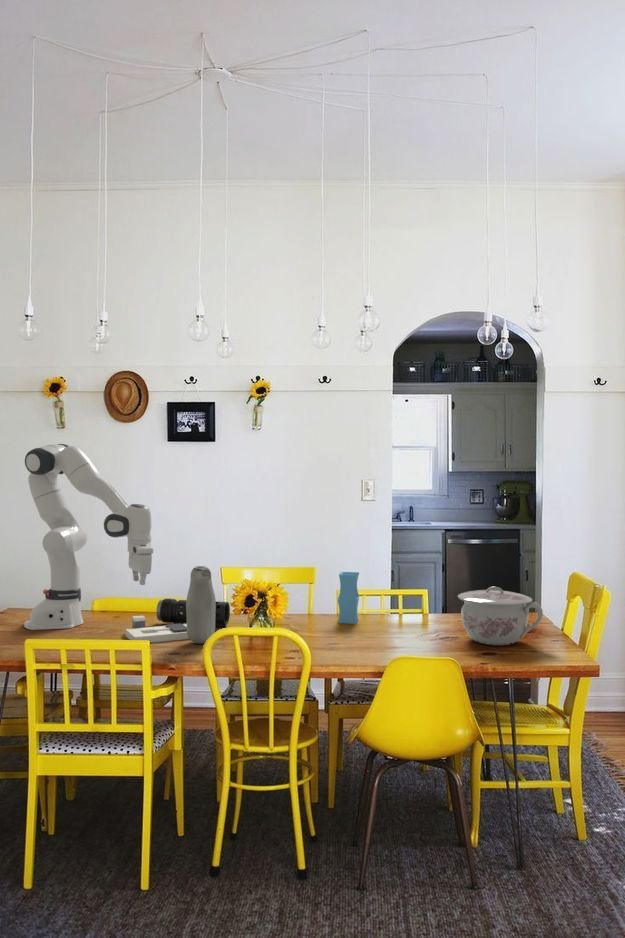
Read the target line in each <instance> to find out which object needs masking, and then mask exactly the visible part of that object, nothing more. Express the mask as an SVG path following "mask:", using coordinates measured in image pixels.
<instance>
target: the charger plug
mask: <svg viewBox="0 0 625 938" xmlns="http://www.w3.org/2000/svg"><path fill="white" fill-rule="evenodd" d="M131 618H132V621H131V623H132V624H131V626H132V627H131V629H135V628H146V617H145V616H144V615H132V617H131Z"/></svg>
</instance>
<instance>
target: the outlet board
mask: <svg viewBox="0 0 625 938" xmlns="http://www.w3.org/2000/svg"><path fill="white" fill-rule="evenodd" d="M125 638H127V639H129V640H130V641H131V640H149V641H150V642H151V643H160V642H162V643H163V642H171V641H180V640H181V641H182V640H190V639H189V637H188V634H187V624H186V623H183V624H181V623H179V624H174V623H167V624H165V625H159V626H148V627H146V626H145V628H135V629H132V628H126V629H125ZM151 643H150V644H151Z"/></svg>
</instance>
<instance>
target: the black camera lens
mask: <svg viewBox="0 0 625 938" xmlns="http://www.w3.org/2000/svg"><path fill="white" fill-rule="evenodd" d="M186 601H187V599H179V600H177V599H175V598H163V599H159V600H158V602H157V605H156V612H155V613H156V619H157V621H161V622H162V623H167V624H179V623H181V624H187V613H186ZM230 614H231V607H230V602H228V601H216V611H215V627H222V628H224V627H227V625H228V624H229V621H230V617H231V615H230Z"/></svg>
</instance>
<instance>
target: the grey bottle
mask: <svg viewBox="0 0 625 938" xmlns="http://www.w3.org/2000/svg"><path fill="white" fill-rule="evenodd" d="M189 576H190V580H189V581H190V582H189V587H188V589H187V590H188V591H187V595H186V600H187V601H186V613H187V634H188V637H189V639H188V640H190V641H191V642H192V643H194V644H197V645H205V644H206V643H205V642H206V640H207V639H208V638H209V637H210V636H211V635H212V634H213V633H214V634H215V631H216V626H215V611H216V602H217V601H216V594H215V590H214V588H213V587H214V586H213V581H212V572H211V570H210V568H209V567H207V566H204V565H203V566H202V565H197V566H195V567H193V568H192V570H191V572H190V575H189Z"/></svg>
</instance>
